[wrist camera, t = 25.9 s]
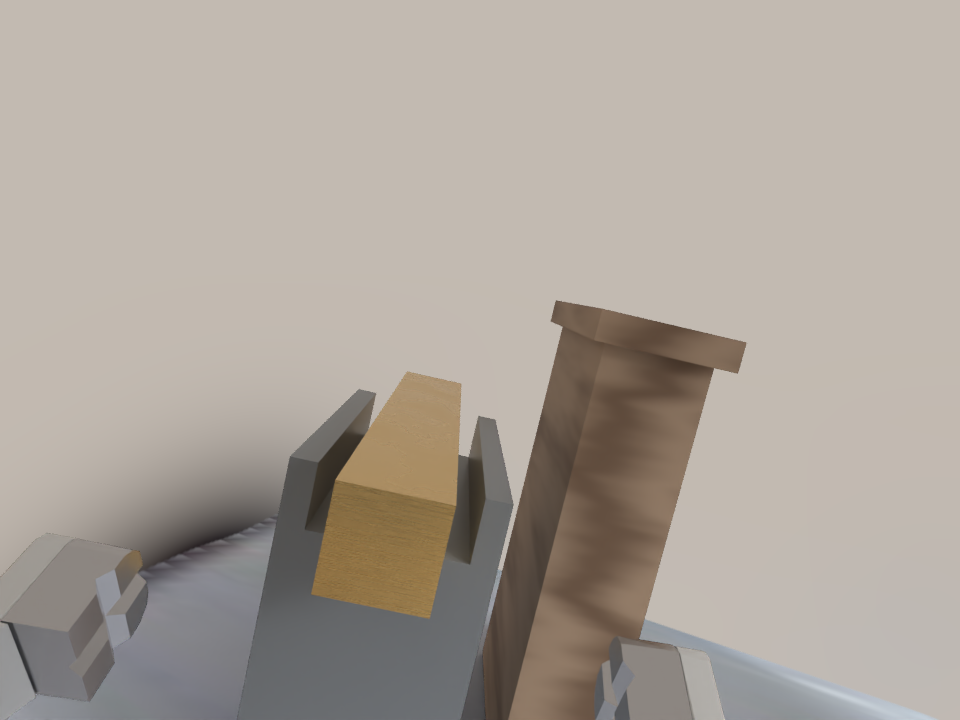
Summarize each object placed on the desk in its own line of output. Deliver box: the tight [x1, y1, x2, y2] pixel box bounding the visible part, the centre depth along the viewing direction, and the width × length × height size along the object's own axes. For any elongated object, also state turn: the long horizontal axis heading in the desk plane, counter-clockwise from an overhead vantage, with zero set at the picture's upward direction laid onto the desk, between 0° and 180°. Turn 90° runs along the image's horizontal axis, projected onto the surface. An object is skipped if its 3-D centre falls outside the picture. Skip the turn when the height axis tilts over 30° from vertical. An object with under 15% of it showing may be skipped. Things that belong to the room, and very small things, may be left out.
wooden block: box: [311, 372, 461, 619], centre depth 29 cm, size 22×4×4 cm, turn 0°
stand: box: [483, 301, 746, 720], centre depth 38 cm, size 7×15×26 cm, turn 0°
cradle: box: [237, 389, 513, 720], centre depth 30 cm, size 8×14×18 cm, turn 0°
